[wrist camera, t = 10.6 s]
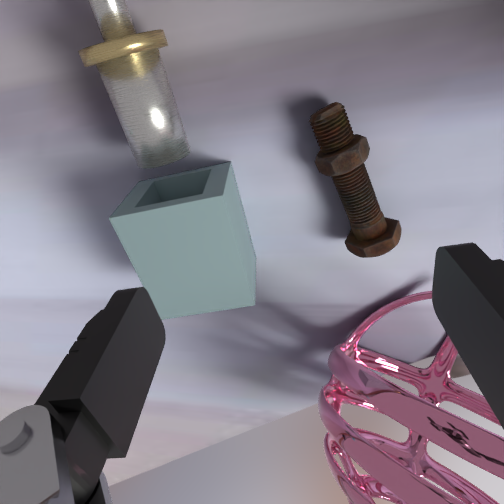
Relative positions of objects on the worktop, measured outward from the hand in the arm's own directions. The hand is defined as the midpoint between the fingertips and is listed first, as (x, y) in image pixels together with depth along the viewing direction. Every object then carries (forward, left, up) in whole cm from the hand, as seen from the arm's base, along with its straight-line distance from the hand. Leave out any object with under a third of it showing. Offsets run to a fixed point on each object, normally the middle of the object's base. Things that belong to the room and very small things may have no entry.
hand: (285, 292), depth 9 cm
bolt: (-7, +8, -27) cm, 29 cm away
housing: (+10, +10, -26) cm, 30 cm away
